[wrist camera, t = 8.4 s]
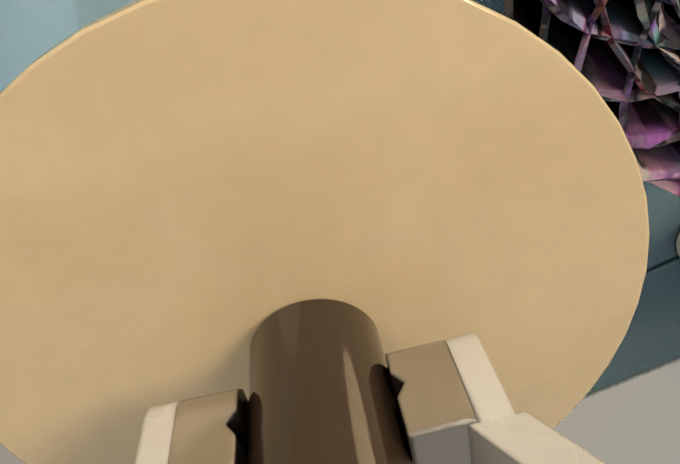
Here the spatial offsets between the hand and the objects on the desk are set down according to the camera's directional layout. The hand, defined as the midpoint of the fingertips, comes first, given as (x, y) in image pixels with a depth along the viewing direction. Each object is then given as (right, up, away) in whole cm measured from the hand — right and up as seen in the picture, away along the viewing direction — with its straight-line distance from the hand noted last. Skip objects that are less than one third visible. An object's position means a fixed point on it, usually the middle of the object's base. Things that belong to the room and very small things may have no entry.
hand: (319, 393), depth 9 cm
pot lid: (0, +1, +1) cm, 2 cm away
